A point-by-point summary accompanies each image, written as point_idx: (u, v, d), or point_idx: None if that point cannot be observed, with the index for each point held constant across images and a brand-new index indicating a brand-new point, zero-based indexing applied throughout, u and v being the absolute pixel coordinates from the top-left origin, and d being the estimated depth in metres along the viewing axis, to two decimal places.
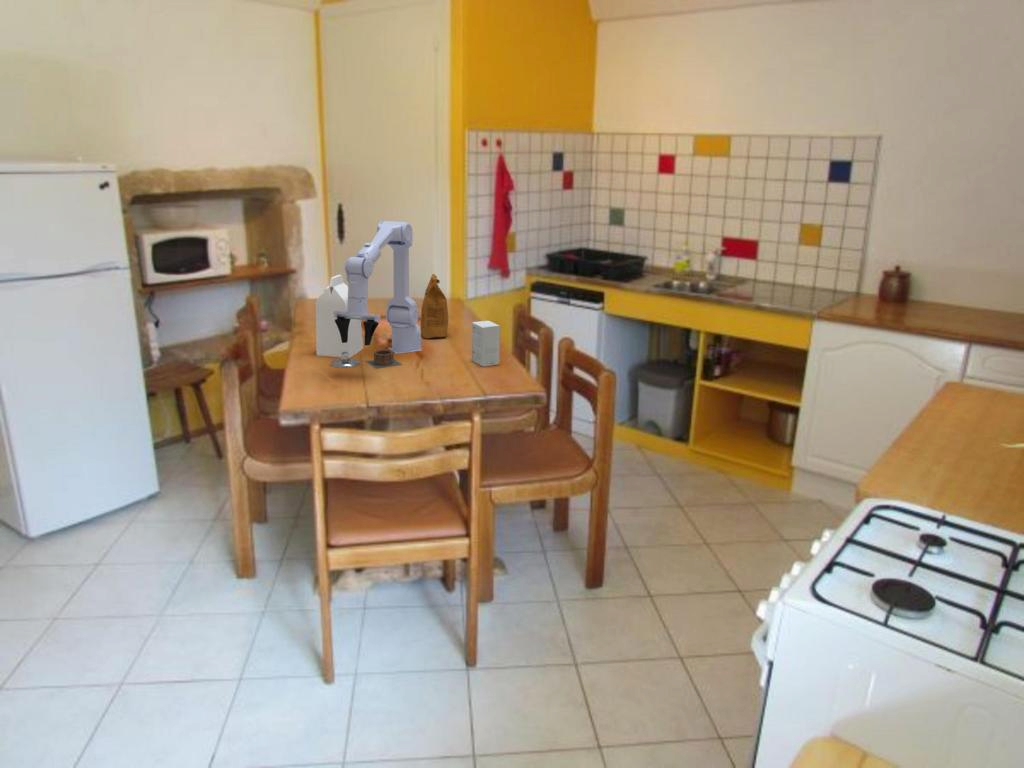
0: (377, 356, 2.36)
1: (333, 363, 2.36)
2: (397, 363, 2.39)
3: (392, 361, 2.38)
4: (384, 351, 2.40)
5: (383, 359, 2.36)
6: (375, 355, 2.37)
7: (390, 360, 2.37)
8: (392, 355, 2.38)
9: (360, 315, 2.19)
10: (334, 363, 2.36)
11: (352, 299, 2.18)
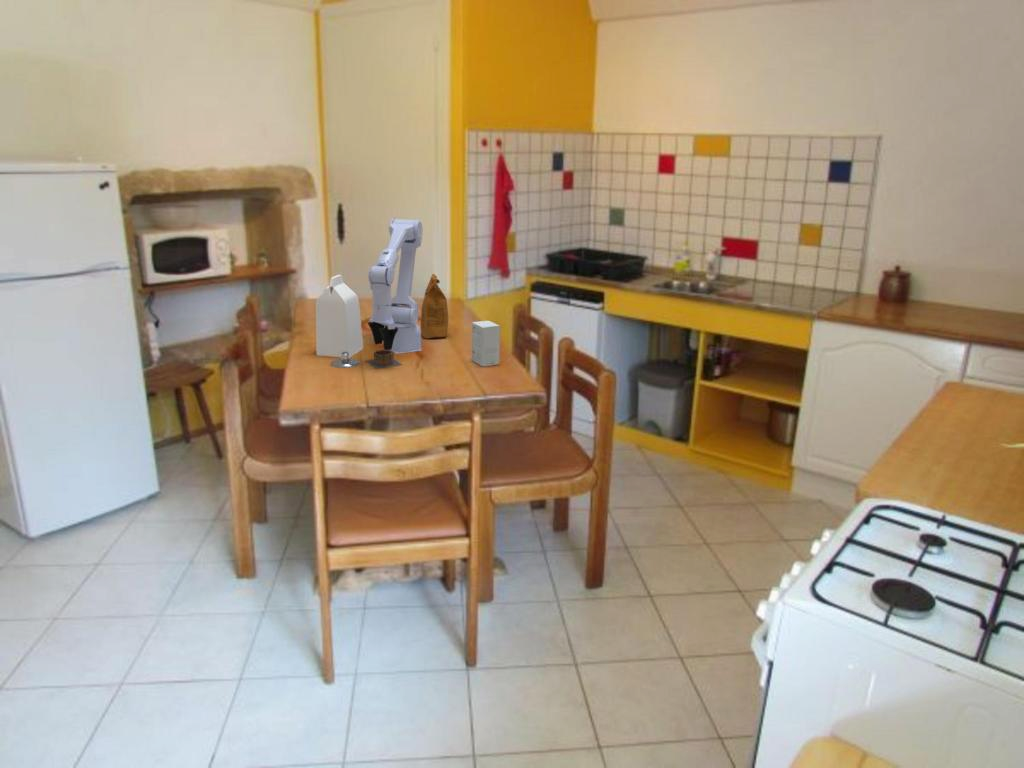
0: (377, 356, 2.36)
1: (333, 363, 2.36)
2: (397, 363, 2.39)
3: (392, 361, 2.38)
4: (384, 351, 2.40)
5: (383, 359, 2.36)
6: (375, 355, 2.37)
7: (390, 360, 2.37)
8: (392, 355, 2.38)
9: (378, 321, 2.32)
10: (334, 363, 2.36)
11: (373, 306, 2.32)
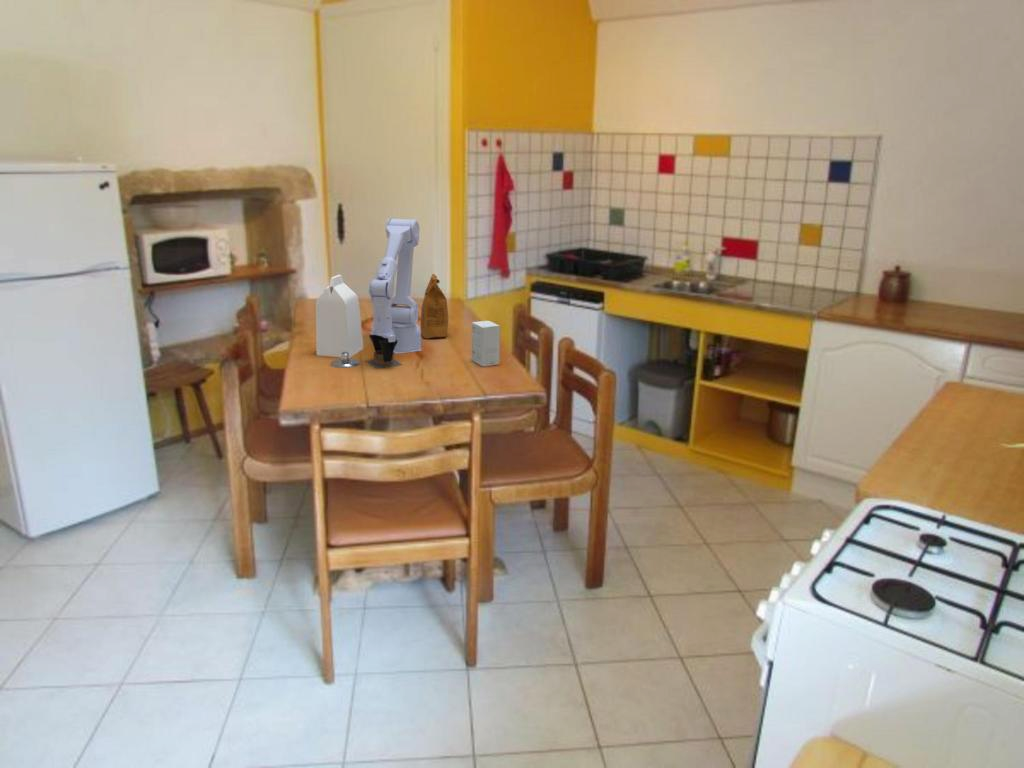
0: (377, 356, 2.36)
1: (333, 363, 2.36)
2: (397, 363, 2.39)
3: (392, 361, 2.38)
4: None
5: (383, 359, 2.36)
6: (375, 355, 2.37)
7: None
8: None
9: (379, 334, 2.33)
10: (334, 363, 2.36)
11: (373, 319, 2.33)
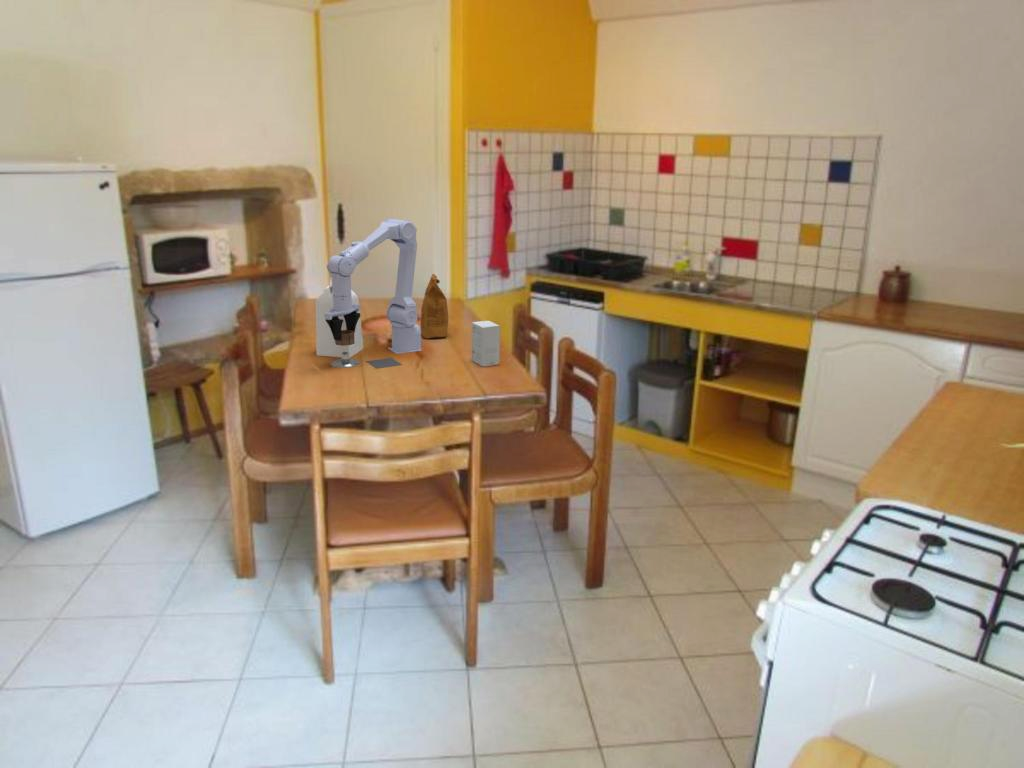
0: None
1: (333, 363, 2.36)
2: (397, 363, 2.39)
3: (345, 343, 2.32)
4: (351, 332, 2.36)
5: None
6: None
7: (341, 341, 2.32)
8: (346, 337, 2.32)
9: None
10: (334, 363, 2.36)
11: None
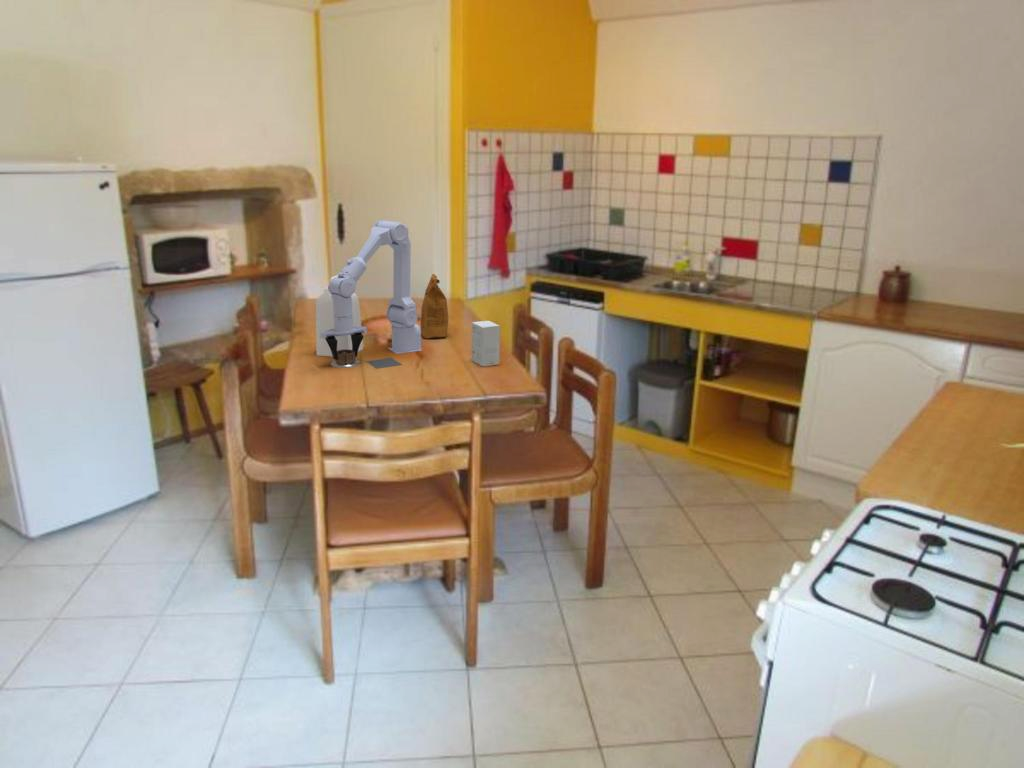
0: None
1: (333, 363, 2.36)
2: (397, 363, 2.39)
3: (341, 362, 2.34)
4: None
5: None
6: None
7: (338, 360, 2.34)
8: (342, 356, 2.34)
9: None
10: (334, 363, 2.36)
11: None
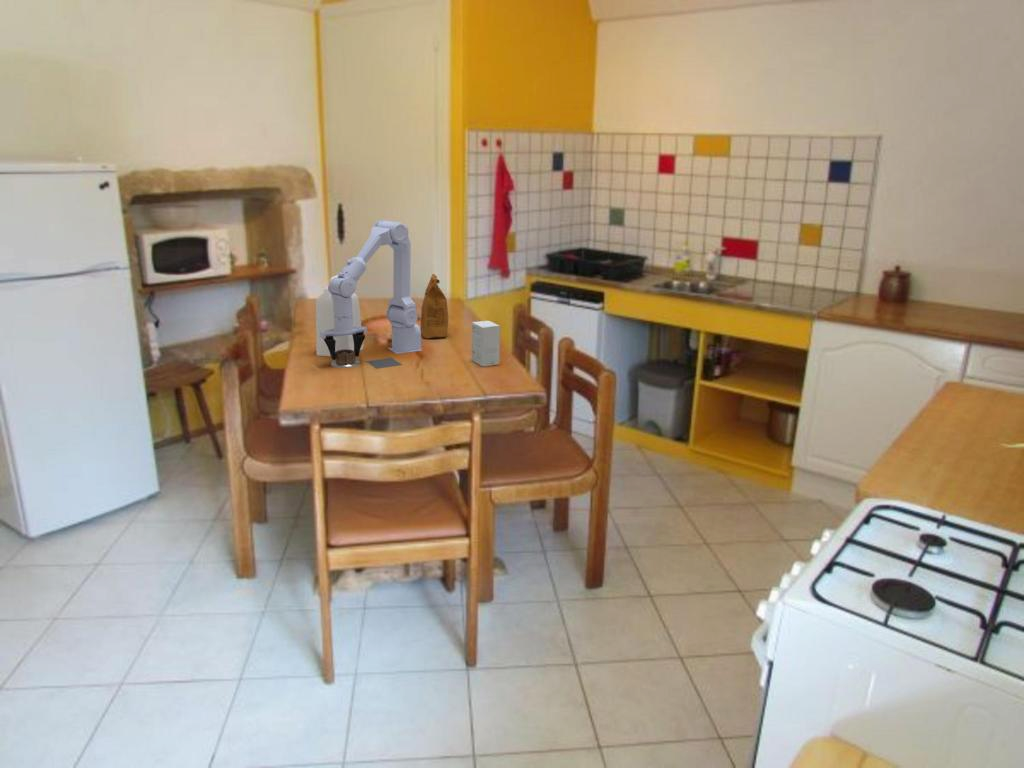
0: None
1: (333, 363, 2.36)
2: (397, 363, 2.39)
3: (341, 362, 2.34)
4: None
5: None
6: None
7: (338, 360, 2.34)
8: (342, 356, 2.34)
9: None
10: (334, 363, 2.36)
11: None
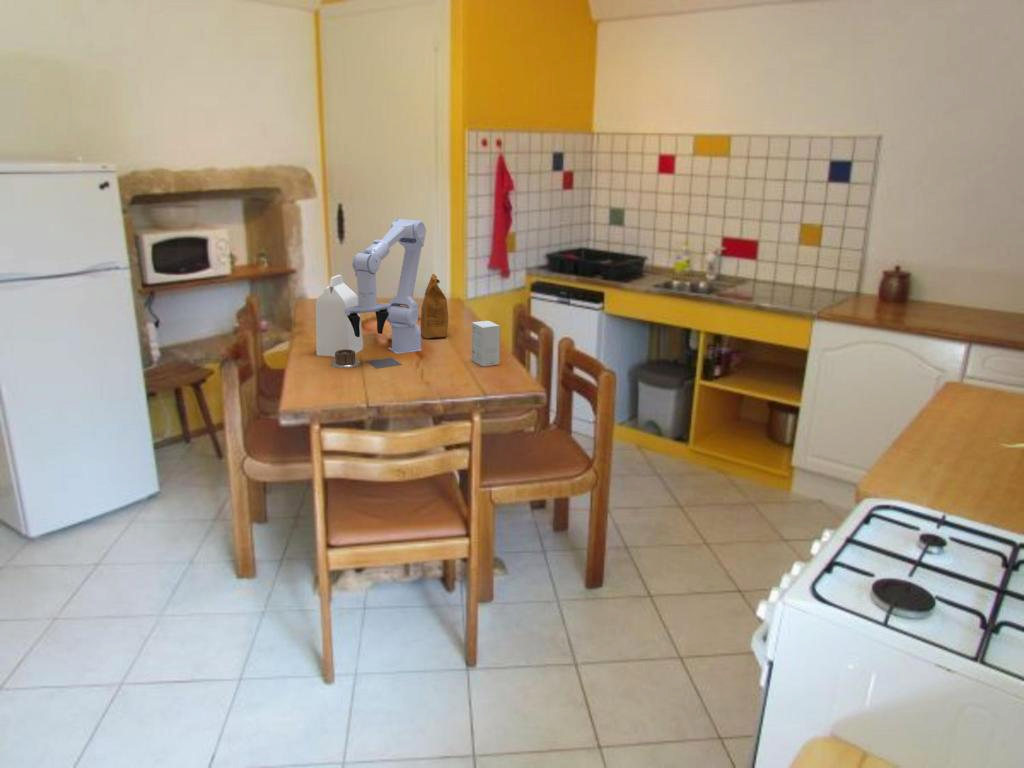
0: None
1: (333, 363, 2.36)
2: (397, 363, 2.39)
3: (341, 362, 2.34)
4: None
5: None
6: None
7: (338, 360, 2.34)
8: (342, 356, 2.34)
9: None
10: (334, 363, 2.36)
11: None
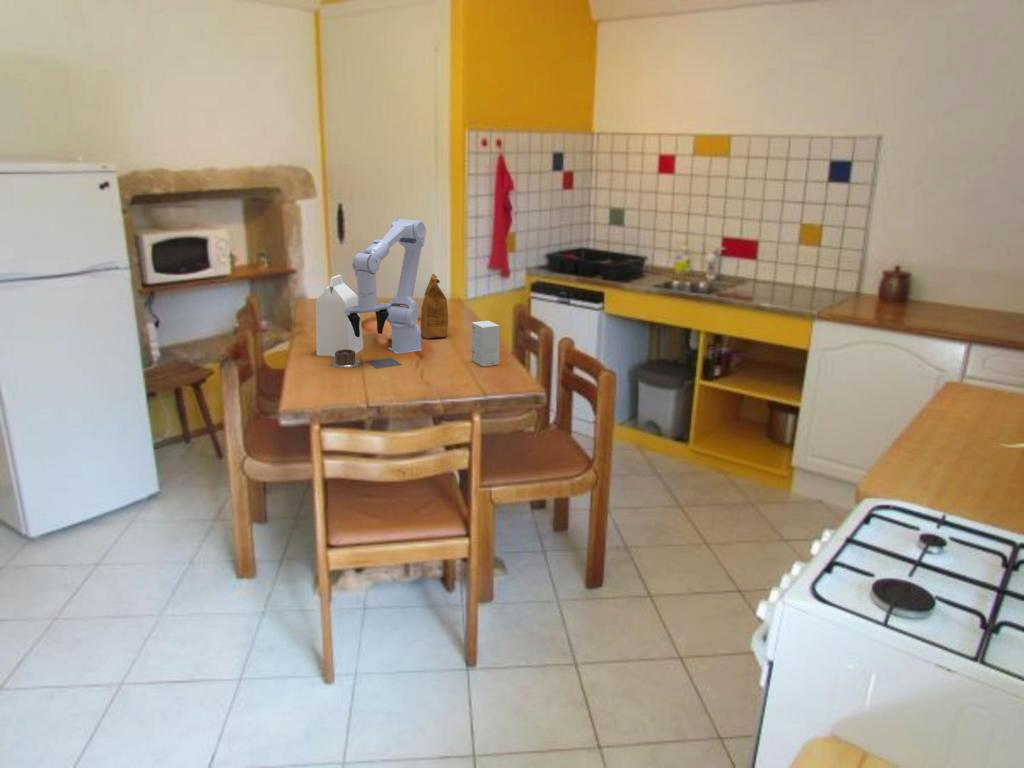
0: None
1: (333, 363, 2.36)
2: (397, 363, 2.39)
3: (341, 362, 2.34)
4: None
5: None
6: None
7: (338, 360, 2.34)
8: (342, 356, 2.34)
9: None
10: (334, 363, 2.36)
11: None
